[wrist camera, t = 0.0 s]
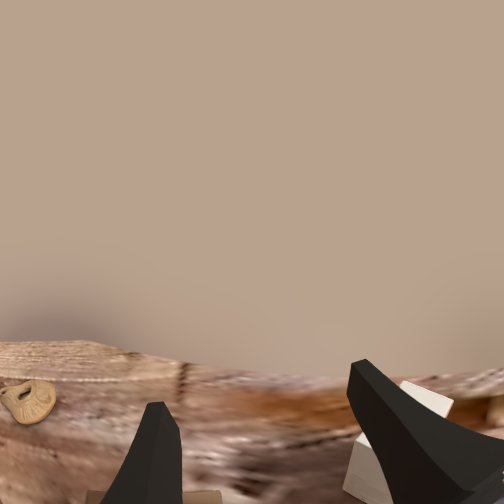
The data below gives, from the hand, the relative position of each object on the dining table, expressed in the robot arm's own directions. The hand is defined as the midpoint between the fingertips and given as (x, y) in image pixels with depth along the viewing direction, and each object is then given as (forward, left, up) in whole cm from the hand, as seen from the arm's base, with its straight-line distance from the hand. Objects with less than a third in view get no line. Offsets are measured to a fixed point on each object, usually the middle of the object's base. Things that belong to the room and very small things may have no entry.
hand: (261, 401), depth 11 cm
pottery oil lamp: (+20, +35, -22) cm, 46 cm away
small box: (+3, -11, -22) cm, 25 cm away
